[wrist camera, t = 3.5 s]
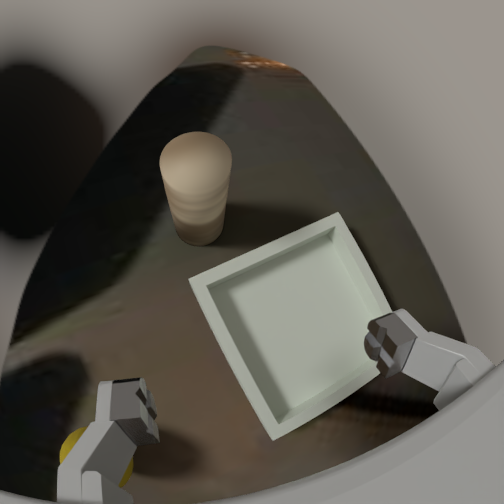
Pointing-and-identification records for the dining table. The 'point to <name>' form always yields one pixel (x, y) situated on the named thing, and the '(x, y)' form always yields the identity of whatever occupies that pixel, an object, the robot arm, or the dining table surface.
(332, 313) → the tray
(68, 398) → the dining table surface
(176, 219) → the dowel
